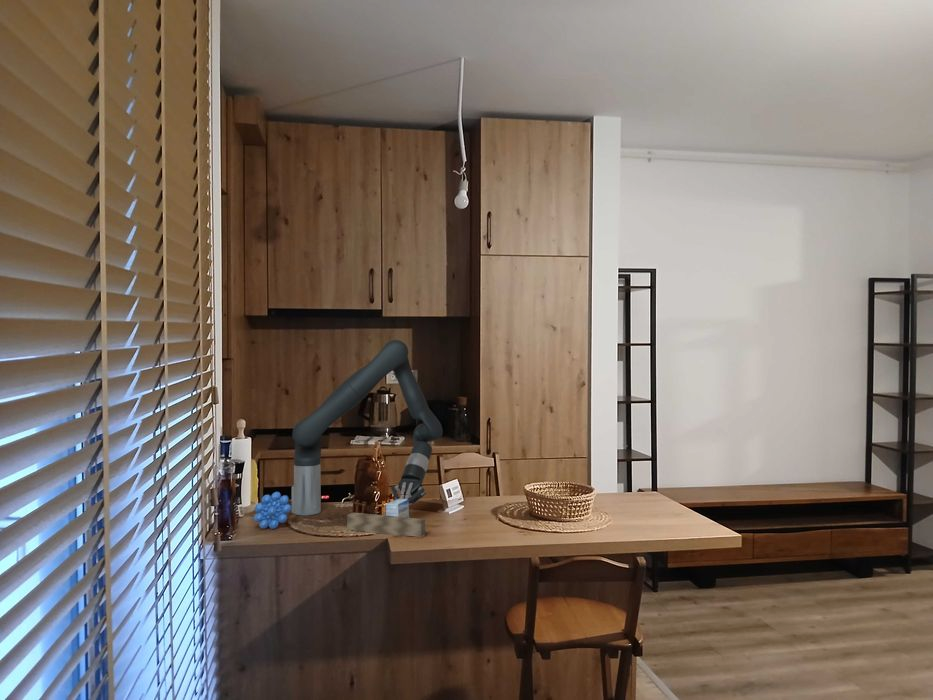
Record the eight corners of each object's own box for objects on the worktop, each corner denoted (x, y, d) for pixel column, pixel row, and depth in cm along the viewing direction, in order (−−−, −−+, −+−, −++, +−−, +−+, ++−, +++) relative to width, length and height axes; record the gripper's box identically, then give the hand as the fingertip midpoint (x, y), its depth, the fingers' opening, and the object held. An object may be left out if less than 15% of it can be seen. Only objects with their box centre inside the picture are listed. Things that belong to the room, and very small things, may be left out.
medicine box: (398, 531, 208) (398, 504, 208) (385, 530, 209) (385, 503, 209) (409, 525, 215) (409, 499, 215) (396, 524, 216) (396, 498, 216)
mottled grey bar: (347, 530, 210) (347, 514, 210) (351, 527, 213) (351, 512, 213) (421, 537, 201) (421, 521, 201) (425, 535, 204) (425, 519, 204)
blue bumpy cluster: (292, 524, 217) (292, 488, 217) (290, 530, 210) (290, 492, 210) (255, 526, 215) (255, 489, 215) (252, 532, 208) (252, 494, 208)
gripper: (394, 462, 228) (378, 505, 216) (430, 464, 223) (415, 508, 212) (401, 474, 233) (386, 517, 221) (436, 476, 228) (422, 520, 217)
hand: (400, 512), depth 217 cm, fingers closed
